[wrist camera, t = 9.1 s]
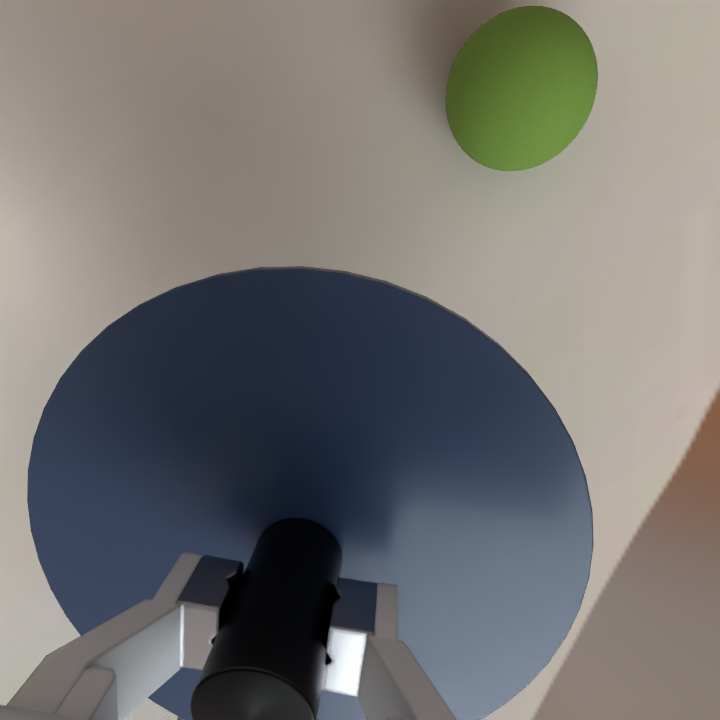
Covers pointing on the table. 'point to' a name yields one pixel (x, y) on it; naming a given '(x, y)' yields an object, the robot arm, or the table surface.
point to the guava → (521, 88)
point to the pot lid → (314, 486)
